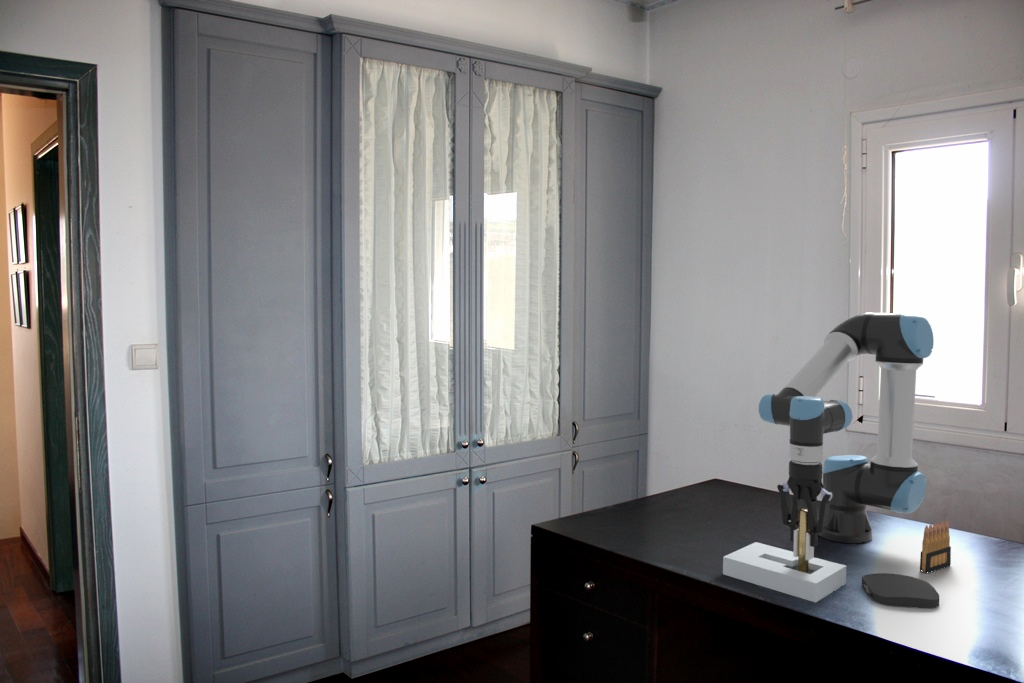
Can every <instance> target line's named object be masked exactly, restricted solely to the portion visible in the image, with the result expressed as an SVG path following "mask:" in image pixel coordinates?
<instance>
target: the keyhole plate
mask: <svg viewBox="0 0 1024 683" xmlns="http://www.w3.org/2000/svg"><path fill="white" fill-rule="evenodd" d="M722 559H723V560H722V575H724V576H728V577H731V578H734V579H738V580H741V581H744V582H747V583H751V584H754V585H757V586H760V587H763V588H766V589H770V590H774V591H777V592H779V593H783V594H786V595H790V596H793V597H796V598H799V599H803V600H805V601H810V602H813V603H817V602H819V601H821V600H822V599H824V598H826V597H827V596H829V595H830V594H832V593H833V591H834V592H836V591H837V590H838V589H840V588H842V587H843V586H845V585H846V584H847V565H845V564H841V563H837V562H833V561H829V560H826V559H822V558H819V557H814V558H812V559H810V560H809V568H808V573H810V574H808V573H804V572H801V571H798V557H793V551H792V550H788V549H785V548H784V549H783V548H780V547H776V546H772V545H769V544H765V543H761V542H757V541H755V542H752V543H750V544H748V545H747V546H744V547H742V548H740V549H737V550H736V551H733V552H730V553H729V554H727V555H723V558H722ZM841 586H842V587H841Z"/></svg>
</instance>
